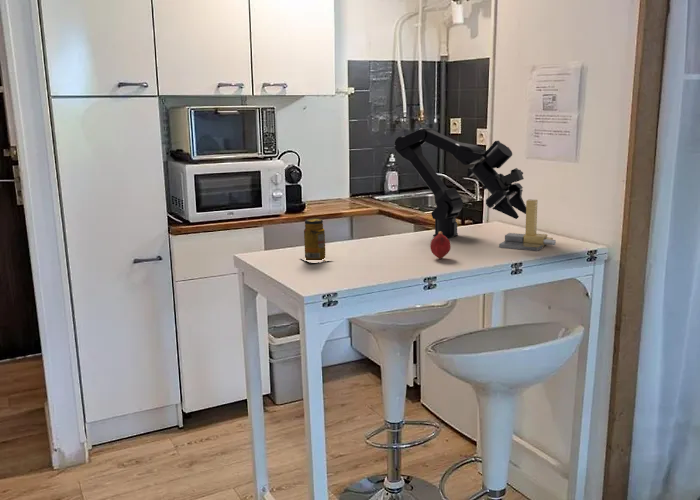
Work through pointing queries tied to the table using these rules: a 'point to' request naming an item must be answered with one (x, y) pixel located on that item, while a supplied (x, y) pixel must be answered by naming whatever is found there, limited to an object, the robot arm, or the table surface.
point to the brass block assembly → (533, 225)
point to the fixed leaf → (517, 242)
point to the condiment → (314, 239)
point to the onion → (440, 245)
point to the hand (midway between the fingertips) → (522, 215)
